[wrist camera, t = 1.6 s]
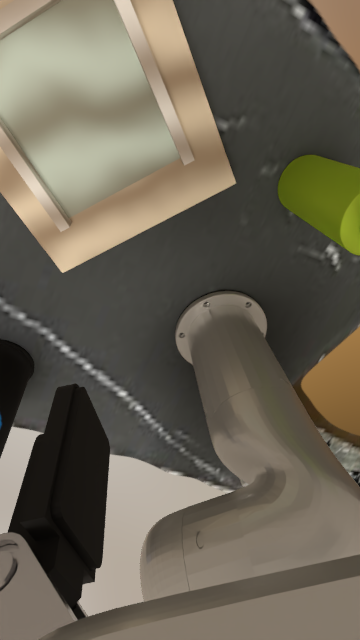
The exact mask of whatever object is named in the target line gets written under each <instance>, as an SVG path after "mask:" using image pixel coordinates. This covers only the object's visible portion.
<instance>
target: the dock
mask: <svg viewBox="0 0 360 640" xmlns="http://www.w3.org/2000/svg"><path fill="white" fill-rule="evenodd" d="M234 184H236V181H235V178H234V176H233V173H232V170H231V167H230V164H229V161H228V158H227V155H226V153H225V150H224V147H223V144H222V141H221V138H220V135H219V132H218V130H217V127H216V124H215V121H214V118H213V115H212V112H211V109H210V107H209V104H208V101H207V98H206V95H205V92H204V89H203V86H202V83H201V81H200V78H199V75H198V72H197V69H196V66H195V63H194V60H193V58H192V55H191V52H190V49H189V46H188V43H187V40H186V37H185V35H184V32H183V29H182V26H181V23H180V20H179V17H178V14H177V11H176V9H175V6H174V3H173V0H0V192H1V194H2V195H3V196H4V197H5V199H6V200H7V201H8V203H9V204H10V205H11V207H12V208H13V209H14V210H15V212H16V213H17V214H18V216H19V217H20V218H21V220H22V221H23V222H24V223H25V225H26V226H27V227H28V229H29V230H30V231H31V233H32V234H33V235H34V236H35V238H36V239H37V240H38V242H39V243H40V244H41V246H42V247H43V248H44V249H45V251H46V252H47V253H48V255H49V256H50V257H51V259H52V260H53V261H54V263H55V264H56V265H57V266H58V268H59V269H60V270H61V272H62V273H64V272H66V271H68V270H69V269H71V268H73V267H75V266H77V265H79V264H81V263H83V262H85V261H87V260H89V259H91V258H93V257H95V256H97V255H99V254H100V253H102V252H104V251H106V250H108V249H110V248H112V247H114V246H116V245H118V244H120V243H122V242H124V241H126V240H128V239H130V238H131V237H133V236H135V235H137V234H139V233H141V232H143V231H145V230H147V229H149V228H151V227H153V226H155V225H157V224H159V223H161V222H162V221H164V220H166V219H168V218H170V217H172V216H174V215H176V214H178V213H180V212H182V211H184V210H186V209H188V208H190V207H192V206H193V205H195V204H197V203H199V202H201V201H203V200H205V199H207V198H209V197H211V196H213V195H215V194H217V193H219V192H221V191H223V190H224V189H226V188H228V187H230V186H232V185H234Z"/></svg>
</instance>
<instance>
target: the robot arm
mask: <svg viewBox="0 0 360 640" xmlns="http://www.w3.org/2000/svg"><path fill="white" fill-rule="evenodd" d="M266 331H267V320H266V316H265V314H264V312H263V310H262V308H261V307H260V306H259V304H258V303H257V302H256V301H255V300H254V299H253V298H251V297H249V296H247V295H246V294H243V293H239V292H235V291H219V292H214V293H210V294H208V295H205V296H203V297H201V298H199V299H197V300H196V301H194V302H193V303H192V304H190V305H189V306H188V307H187V308H186V309H185V311H184V312H183V313H182V314H181V316H180V318H179V320H178V322H177V325H176V329H175V339H176V345H177V348H178V351H179V352H180V354H181V355H182V357H183V358H184V359H185V360H186V361H188V362H189V363H191V364H192V365H193V367H194V371H195V375H196V379H197V383H198V388H199V392H200V396H201V400H202V404H203V408H204V413H205V417H206V421H207V425H208V429H209V433H210V437H211V441H212V444H213V447H214V449H215V451H216V453H217V455H218V457H219V458H220V460H221V461H222V462H223V464H224V465H225V466H226V467H227V468H228V469H229V470H230V471H231V472H233V473H234V474H235V475H236V476H238V477H239V478H240V479H242V480H243V481H244V482H246V483H247V484H249V485H247V486H245V487H242V488H240V489H237V490H236V491H233V492H231V493H228V494H225V495H222V496H219V497H216V498H213V499H210V500H207V501H204V502H201V503H198V504H195V505H192V506H189V507H187V508H185V509H182V510H179V511H177V512H174V513H172V514H169V515H167V516H166V517H164V518H162V519H161V520H159V521H158V522H157V523H156V524H155V525H154V526H153V527H152V528H151V530H150V531H149V532H148V534H147V536H146V538H145V541H144V543H143V547H142V551H141V559H140V579H141V587H142V594H143V599H144V602H141V603H137V604H133V605H128V606H124V607H121V608H116V609H112V610H109V611H106V612H102V613H99V614H96V615H92V616H89V617H88V616H87V614H86V613H85V611H84V610H83V608H82V606H81V605H80V603H79V602H78V600H79V599H80V598H81V593H82V585H83V584H85V583H91V582H95V570H96V568H100V567H101V564H102V557H103V541H104V528H105V514H106V498H107V484H108V471H109V456H110V446H109V441H108V438H107V436H106V434H105V431H104V429H103V427H102V425H101V423H100V420H99V418H98V416H97V414H96V411H95V409H94V407H93V405H92V402H91V400H90V398H89V396H88V394H87V391H86V389H85V388H84V387H79V386H78V385H77V384H72V385H67V386H62V387H58V388H57V390H56V393H55V396H54V400H53V403H52V407H51V411H50V414H49V418H48V422H47V425H46V429H45V432H44V434H41V435H39V436H38V437H37V438H36V440H35V442H34V446H33V449H32V452H31V456H30V459H29V462H28V466H27V469H26V472H25V476H24V479H23V483H22V486H21V489H20V493H19V496H18V499H17V503H16V506H15V509H14V513H13V516H12V519H11V523H10V526H9V530H8V533H3V534H0V640H360V487H359V486H358V485H357V483H356V482H355V481H354V480H353V478H352V477H351V476H350V475H349V473H348V472H347V471H346V470H345V468H344V467H343V466H342V464H341V463H340V462H339V461H338V459H337V458H336V456H335V455H334V454H333V452H332V451H331V450H330V448H329V447H328V445H327V444H326V442H325V441H324V439H323V438H322V436H321V435H320V433H319V431H318V430H317V428H316V426H315V425H314V423H313V421H312V420H311V418H310V416H309V415H308V413H307V411H306V410H305V408H304V406H303V404H302V403H301V401H300V399H299V398H298V396H297V394H296V392H295V391H294V389H293V387H292V385H291V384H290V382H289V380H288V378H287V376H286V375H285V373H284V371H283V369H282V368H281V366H280V364H279V362H278V361H277V359H276V357H275V355H274V354H273V352H272V350H271V348H270V347H269V345H268V343H267V341H266V340H265V336H266Z"/></svg>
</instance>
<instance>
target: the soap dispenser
mask: <svg viewBox="0 0 360 640" xmlns="http://www.w3.org/2000/svg"><path fill="white" fill-rule="evenodd" d="M278 196H279V199H280V202H281V203H282V205H283V206H284V207H285V208H287V209H288V210H290V211H291V212H293V213H294V214H295V215H297V216H298V217H300V218H301V219H303V220H304V221H306V222H307V223H309V224H310V225H311V226H313V227H314V228H316V229H317V230H319V231H320V232H322V233H323V234H324V235H326V236H327V237H329V238H330V239H332V240H333V241H335V242H336V243H338V244H339V245H340V246H342V247H343V248H345V249H346V250H348V251H349V252H351V253H353V254H355V255H360V168H357V167H353V166H350V165H347V164H343V163H340V162H337V161H333V160H330V159H326V158H323V157H320V156H316V155H304V156H301V157H298V158H297V159H295V160H293V161H292V162H291V163H290V164H289V165H288V166H287V167H286V168H285V170H284V171H283V173H282V175H281V177H280V180H279V183H278Z"/></svg>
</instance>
